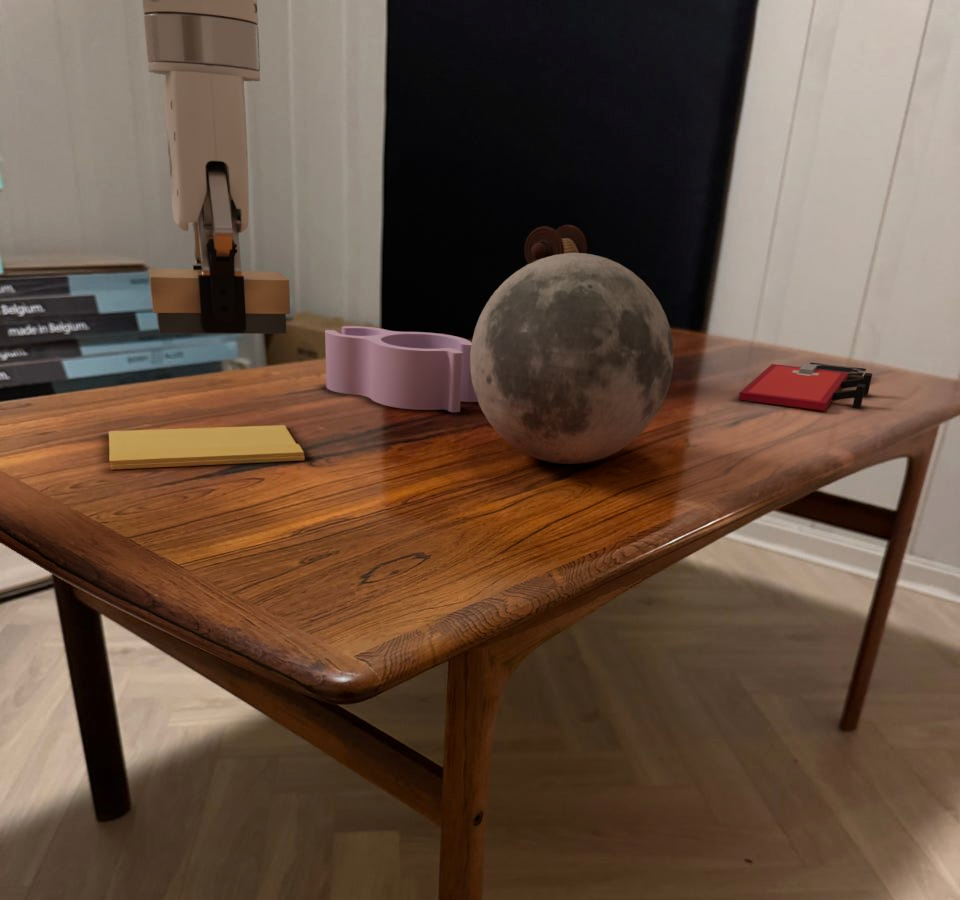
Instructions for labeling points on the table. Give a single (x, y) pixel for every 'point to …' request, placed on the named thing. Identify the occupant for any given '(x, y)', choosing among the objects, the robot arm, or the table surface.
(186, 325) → the brush
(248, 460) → the flat yellow board
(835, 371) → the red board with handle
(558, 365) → the moon model
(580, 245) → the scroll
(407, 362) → the pink curved hollow block
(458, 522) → the table surface
